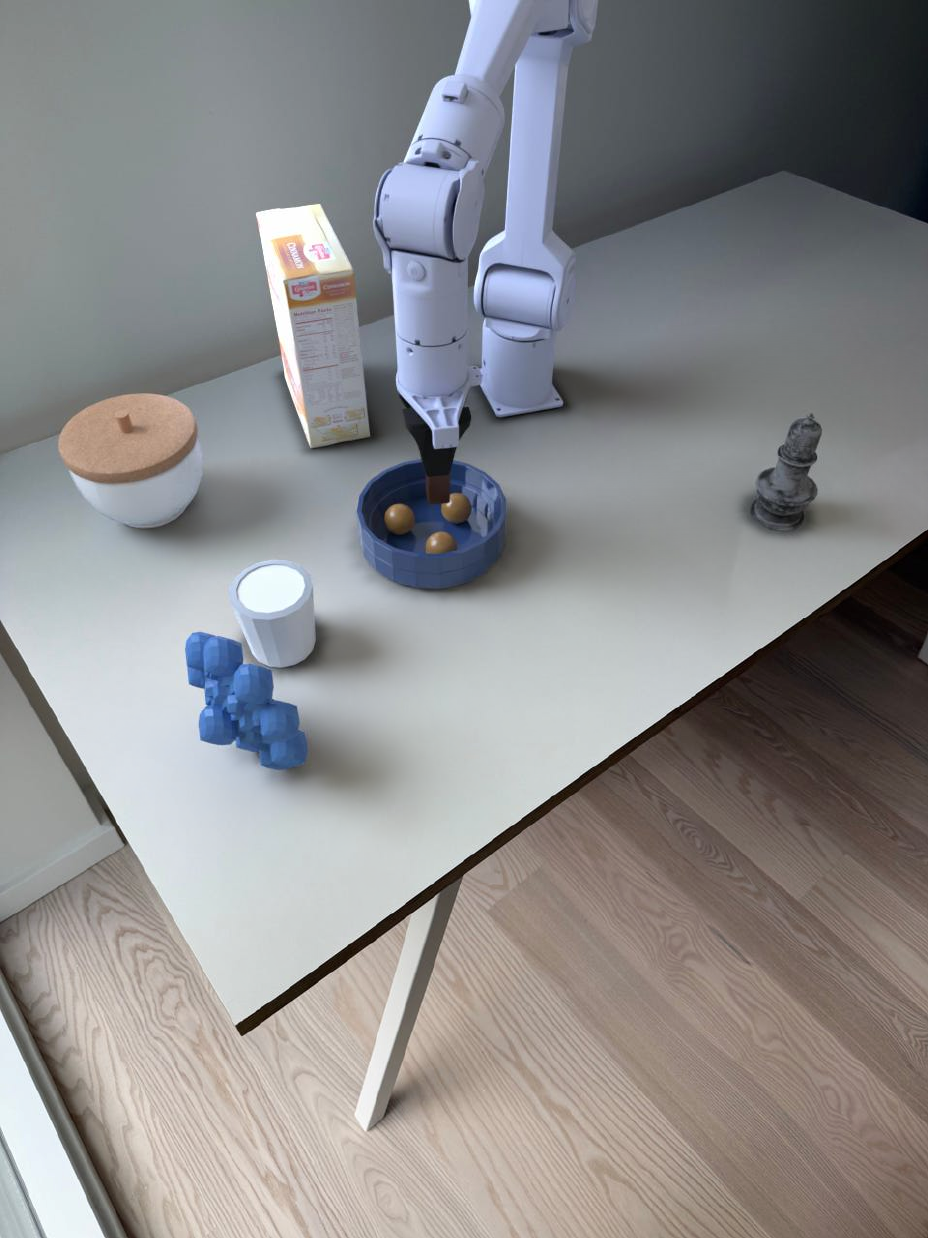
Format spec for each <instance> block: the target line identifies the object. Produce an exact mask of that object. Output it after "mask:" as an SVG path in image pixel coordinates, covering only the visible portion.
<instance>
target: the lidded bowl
mask: <svg viewBox="0 0 928 1238" xmlns="http://www.w3.org/2000/svg"><path fill="white" fill-rule="evenodd" d="M57 448H58V453H59V455H60V458H61V459H62V461H63V464H64V465H65V467H66V468H67V470H68V472H69V474H70V476H71V479H72V481H73V483H74V484H75V486H76V488H77V489H78V491H79V493H80V494H81V496H83V498H84V499H85V501H87V503H88V504H89V505H90V506H91V507H92V508H93V509H94V510H95V511H97V512H98V513H100V514H101V515H103V516H104V517H106V518H108V519H110V520H111V521H115V522H117V523H121V524H123V525H125V526H127V527H132V528H135V529H155V528H158V527H162V526H165V525H167V524H169V523H171V522H174V521H175V520H177V519H178V518H179V517H180V516H182V515H183V513H184V512H185V511H186V509H187V507H188V506H189V505H190V503H191V502H192V501H193V500H194V498H195V496H196V495H197V492H198V490H199V488H200V486H201V481H202V477H203V468H204V467H203V465H204V464H203V451H202V446H201V441H200V437H199V428H198V424H197V420H196V417H195V415H194V414H193V411H192V410H191V409H190V408H189V407H188V406H187V405H186V404H184V403H182V402H181V401H180V400H177V399H176V398H173V397H171V396H166V395H163V394H156V393H147V392H142V393H127V394H122V395H118V396H113V397H109V398H106V399H103V400H101V401H98V402H95V403H94V404H91V405H89V406H87V407H86V408H84V409H82V410H81V411H79V412H78V413H76V414H75V415H74V416H73V417H71V418H70V419H69V420H68V422H67V423H66V424H65V425H64V427H63V428H62V430H61V432H60V434H59V437H58V441H57Z"/></svg>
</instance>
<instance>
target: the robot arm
mask: <svg viewBox="0 0 928 1238" xmlns="http://www.w3.org/2000/svg"><path fill="white" fill-rule="evenodd" d="M468 4H469V12H470V20H469V24H468V27H467V31H466V34H465V38H464V40H463V44H462V48H461V52H460V55H459V58H458V62H457V65H456V68H455V72H454V74H451V75H448V76H445V77H443V78H441V79H440V80H439V81H438V82H436V84H435V85H434V87H433V89H432V90H431V93H430V96H429V98H428V101H427V102H426V105H425V108H424V111H423V112H422V113H423V114H422V116H421V118H420V120H419V122H418V125H417V128H416V130H415V133H414V135H413V138H412V140H411V143H410V145H409V147H408V150H407V152H406V154H405V157H404V159H403V162H398V163H397V165H394V166H393V168H388V169H387V170H386V171H384V173H382V176H381V177H380V180H379V182H378V184H377V185H378V186H377V189H376V194H375V198H374V210H373V211H374V215H373V220H372V225H373V231H374V232H373V233H374V237H375V239H376V242H377V244H378V245H379V247H380V248H381V251H382V257H383V268H384V269H385V272H386V273H388V274H389V275H391V282H392V300H393V313H394V315H393V316H394V330H395V344H396V346H395V347H396V363H397V372H396V376H395V381H396V382H395V384H396V389H397V394H398V397H399V399H400V400H401V402H402V403H403V406H405V408H404V407H403V408H401V411H402V412H401V413H402V418H403V422H404V426H405V428H406V430H407V431H408V433H409V434H410V435H411V436H412V439H413V440H414V442H415V443H416V445H417V448H418V451H419V455H420V459H421V460H422V465H423V468H424V471H425V474H426V476H427V477H433V476H443V475H448V474H449V473H450V470H451V467H452V464H453V460H454V459H455V456H456V452H457V449H458V447H459V446H460V441H461V439H462V438H463V436H464V434H465V433H466V431H467V430H468V429H469V428H470V427H471V423H472V419H473V418H472V417H473V416H472V412H471V409H470V406H468V405H467V406H464V405H465V401H466V398H467V395H468V393H469V389H470V388H472V387H477V386H480V388H481V390H482V392H483V394H484V396H485V398H486V400H487V401H488V403H489V406H490V407H491V409H492V410H493V413H494V415H495V416H496V417H498V418H506V417H509V416H511V417H512V416H516V415H521V414H528V413H534V412H539V411H545V410H551V409H556V408H560V407H563V405H564V401H563V399H562V397H561V396H560V394H559V393H558V391H557V389H556V388H555V386H554V385H553V373H554V371H553V370H554V362H555V361H554V360H555V351H556V350H555V349H556V339H557V338H556V337H557V332H561V331H562V329H564V328H565V327H566V326H567V325H568V323H569V321H570V319H571V316H572V312H573V308H574V304H575V299H576V292H577V276H576V269H577V258H576V252H575V251H574V250H573V249H572V248H571V247H570V246H569V245H568V244H566V243H565V242H564V241H563V240H562V239H561V238H560V236H558V235H557V234H556V233H555V231H554V230H553V225H554V216H555V205H556V195H557V184H558V176H559V175H558V174H559V164H560V155H561V143H562V135H563V134H562V133H563V124H564V116H565V115H564V114H565V104H566V95H567V85H568V84H567V82H568V75H569V74H568V73H569V66H570V62H571V58H572V54H573V50H574V47H577V46H580V45H583V44H586V43H590V42H591V41H592V37H593V32H594V30H595V27H596V21H597V15H598V14H597V13H598V6H599V0H468ZM513 71H514V83H513V97H512V111H511V112H512V114H511V129H510V144H509V145H510V147H509V160H508V161H509V162H508V163H509V164H508V175H507V176H508V177H507V193H506V206H505V207H506V208H505V225H504V230H503V231H501V232H499V233H498V234H496V235H494V236H492V237H491V238H490V239H489V240H488V241H487V242H486V243H485V245H484V246H483V249H482V250H481V252H480V254H479V259H478V260H479V261H478V269H477V273H476V277H475V282H474V288H473V304H474V305H473V306H474V309H475V310H476V312H477V315H478V316H479V317H481V318H484V320H483V323H482V334H481V335H482V340H481V341H482V344H481V368H479V366H477V365H468V303H469V301H468V299H469V298H468V296H469V295H468V293H469V291H468V285H469V282H468V281H469V279H468V278H469V255H470V254H471V252H472V249H473V247H474V245H475V242H476V240H477V236H478V233H479V227H480V221H481V212H482V206H483V204H484V201H485V194H486V188H485V183H484V179H485V176H486V174H487V171H488V168H489V166H490V163H491V160H492V158H493V155H494V153H495V150H496V147H497V145H498V142H499V139H500V137H501V134H502V131H503V129H504V127H505V123H506V122H505V121H506V115H505V114H506V113H505V108H504V106H503V102H502V100H501V98H500V97H501V94H502V93H503V91H504V89H505V87H506V85H507V83H508V81H509V79H510V77H511V75H512V73H513ZM454 461H455V460H454Z"/></svg>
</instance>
